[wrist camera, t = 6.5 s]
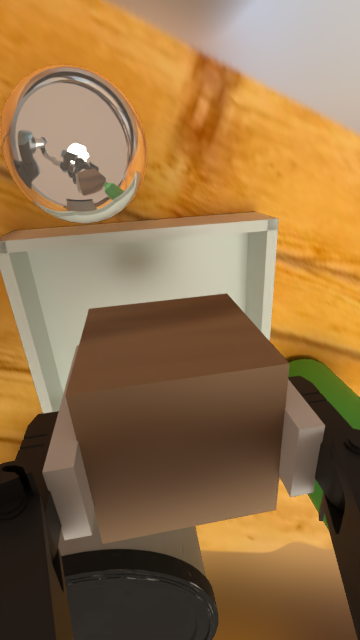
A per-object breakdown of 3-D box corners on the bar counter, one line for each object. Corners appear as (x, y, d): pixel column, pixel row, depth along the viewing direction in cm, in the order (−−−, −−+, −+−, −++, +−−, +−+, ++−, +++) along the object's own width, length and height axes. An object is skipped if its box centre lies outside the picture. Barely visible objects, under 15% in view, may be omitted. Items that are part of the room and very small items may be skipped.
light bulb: (75, 222, 26) (40, 259, 15) (22, 128, 22) (-71, 87, 12) (154, 184, 25) (178, 194, 15) (112, 84, 22) (102, 1, 11)
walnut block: (89, 308, 14) (65, 395, 8) (226, 293, 14) (289, 364, 9) (109, 420, 16) (102, 543, 11) (227, 402, 17) (276, 509, 11)
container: (-12, 437, 33) (-106, 625, 19) (171, 396, 34) (204, 542, 21) (49, 547, 41) (13, 732, 27) (195, 509, 42) (228, 667, 29)
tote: (58, 401, 32) (49, 434, 28) (13, 230, 25) (-8, 241, 21) (248, 374, 34) (265, 401, 30) (255, 211, 27) (278, 218, 23)
